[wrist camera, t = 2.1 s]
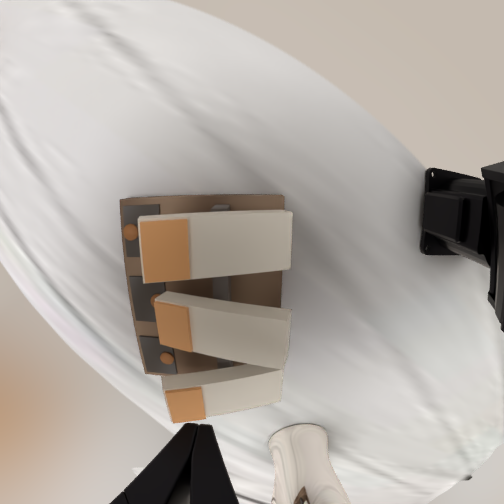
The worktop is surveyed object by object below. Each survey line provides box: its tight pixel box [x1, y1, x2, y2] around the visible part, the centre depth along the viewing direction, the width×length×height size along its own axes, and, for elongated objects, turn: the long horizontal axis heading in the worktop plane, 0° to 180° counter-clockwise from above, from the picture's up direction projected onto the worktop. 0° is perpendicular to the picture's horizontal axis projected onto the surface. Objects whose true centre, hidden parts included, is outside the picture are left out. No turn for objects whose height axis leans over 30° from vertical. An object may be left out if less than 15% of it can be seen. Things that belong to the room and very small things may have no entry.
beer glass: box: [268, 424, 351, 504], centre depth 16 cm, size 7×7×15 cm
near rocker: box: [138, 210, 293, 284], centre depth 13 cm, size 7×3×1 cm, turn 89°
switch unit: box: [120, 194, 284, 376], centre depth 17 cm, size 10×13×4 cm
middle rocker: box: [154, 291, 292, 370], centre depth 14 cm, size 7×3×1 cm, turn 90°
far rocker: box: [161, 364, 284, 423], centre depth 15 cm, size 7×3×1 cm, turn 89°
